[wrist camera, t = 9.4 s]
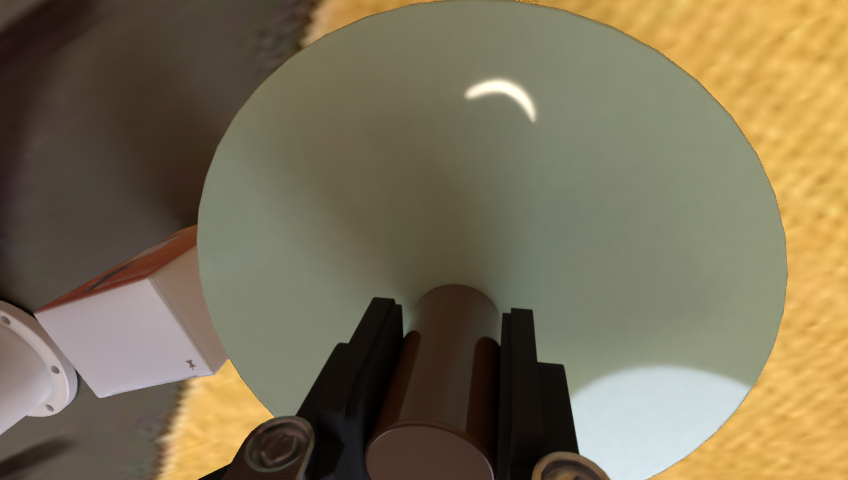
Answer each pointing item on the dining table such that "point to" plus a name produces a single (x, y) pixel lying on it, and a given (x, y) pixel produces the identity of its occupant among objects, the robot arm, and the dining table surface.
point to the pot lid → (496, 232)
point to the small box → (139, 321)
